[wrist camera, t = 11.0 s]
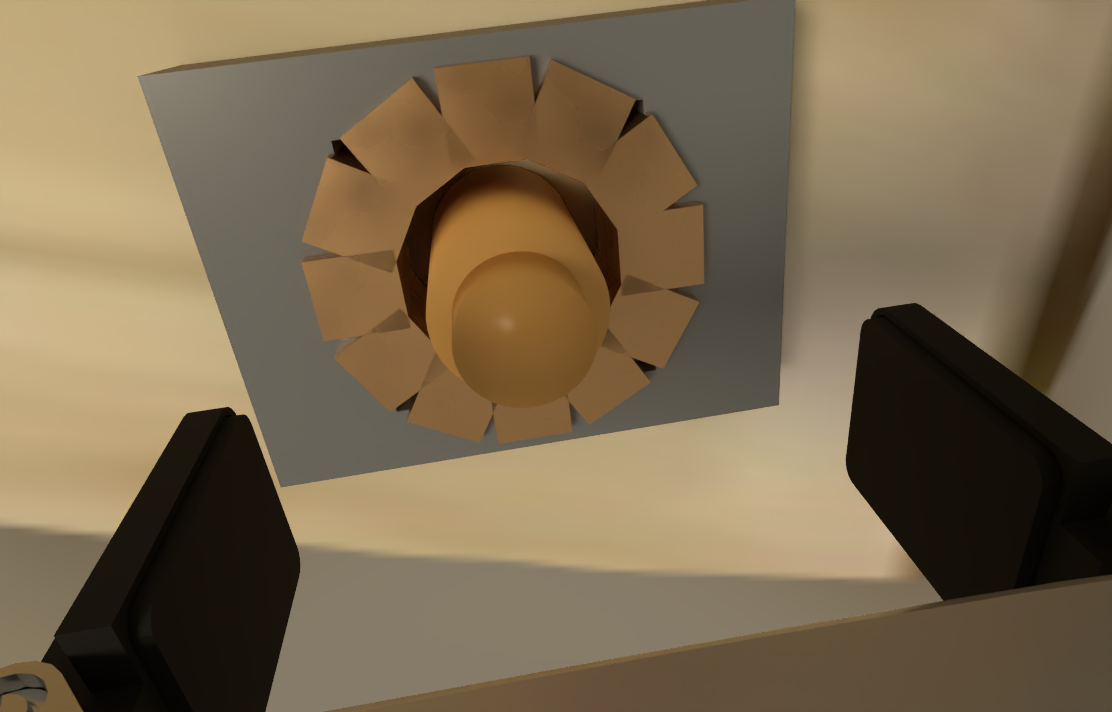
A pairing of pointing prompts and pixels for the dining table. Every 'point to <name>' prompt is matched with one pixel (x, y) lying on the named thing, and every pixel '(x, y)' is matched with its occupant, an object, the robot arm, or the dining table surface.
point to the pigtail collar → (480, 139)
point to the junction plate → (383, 66)
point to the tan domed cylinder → (513, 289)
